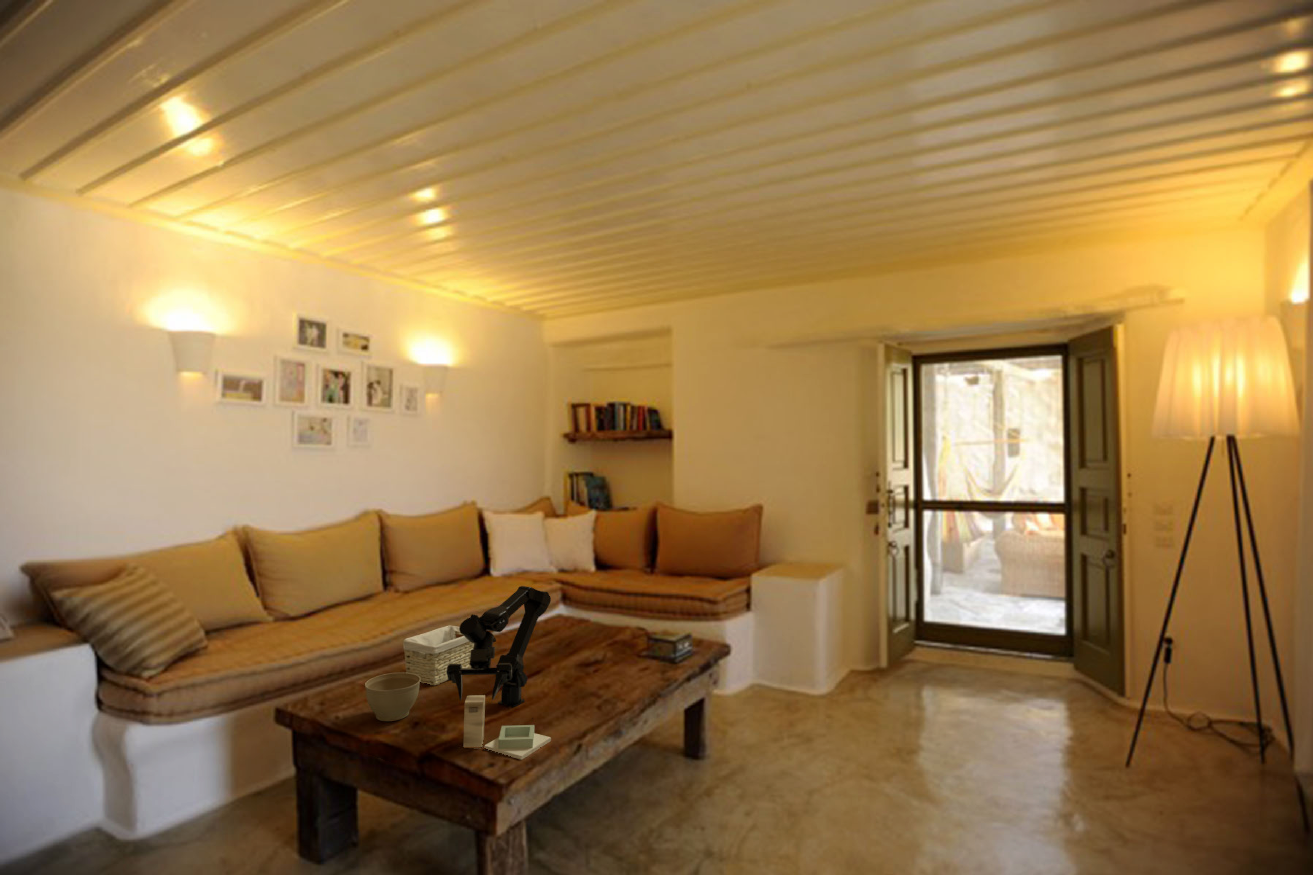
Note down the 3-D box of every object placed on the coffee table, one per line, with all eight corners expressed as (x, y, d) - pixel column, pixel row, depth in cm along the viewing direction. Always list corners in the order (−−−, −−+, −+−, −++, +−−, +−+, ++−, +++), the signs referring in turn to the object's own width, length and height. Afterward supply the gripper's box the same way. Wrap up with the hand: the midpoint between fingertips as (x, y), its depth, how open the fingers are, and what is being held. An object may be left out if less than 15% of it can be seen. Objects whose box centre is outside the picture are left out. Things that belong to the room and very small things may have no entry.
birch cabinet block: (465, 740, 194) (467, 695, 195) (483, 740, 195) (485, 695, 195) (462, 749, 189) (464, 703, 189) (481, 749, 189) (482, 702, 190)
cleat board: (513, 730, 202) (513, 719, 202) (550, 740, 196) (551, 728, 196) (482, 748, 190) (483, 736, 190) (521, 759, 184) (521, 746, 184)
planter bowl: (402, 701, 222) (403, 668, 222) (429, 715, 212) (430, 680, 212) (354, 716, 210) (355, 680, 210) (380, 731, 199) (382, 694, 200)
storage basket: (433, 688, 235) (434, 645, 235) (399, 680, 243) (400, 638, 243) (480, 669, 257) (481, 630, 257) (448, 661, 264) (449, 623, 264)
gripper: (448, 636, 201) (440, 687, 190) (512, 636, 204) (508, 686, 192) (452, 655, 209) (444, 704, 198) (513, 654, 211) (509, 703, 200)
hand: (476, 699), depth 197 cm, fingers open, 9 cm apart
